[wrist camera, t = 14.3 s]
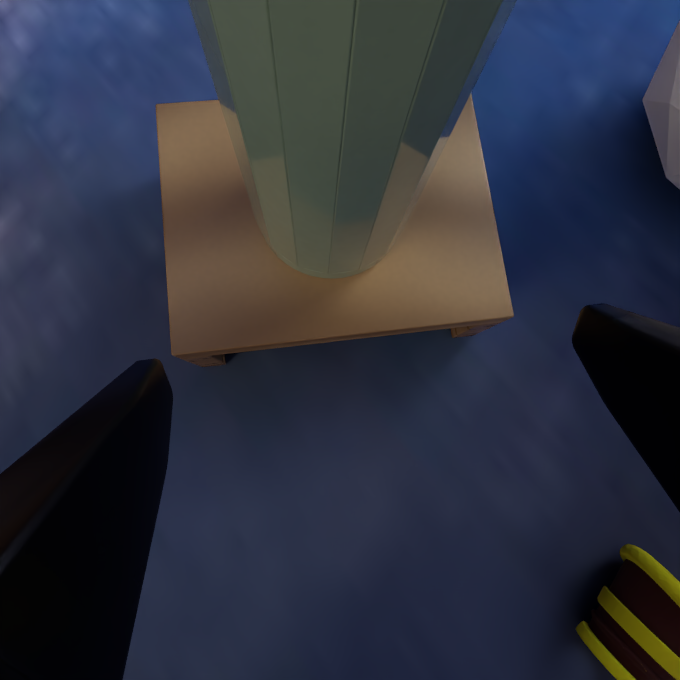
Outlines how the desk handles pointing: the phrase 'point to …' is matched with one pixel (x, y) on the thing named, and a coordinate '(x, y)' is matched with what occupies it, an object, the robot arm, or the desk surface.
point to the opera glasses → (637, 621)
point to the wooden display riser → (308, 291)
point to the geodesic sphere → (666, 108)
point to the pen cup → (342, 112)
